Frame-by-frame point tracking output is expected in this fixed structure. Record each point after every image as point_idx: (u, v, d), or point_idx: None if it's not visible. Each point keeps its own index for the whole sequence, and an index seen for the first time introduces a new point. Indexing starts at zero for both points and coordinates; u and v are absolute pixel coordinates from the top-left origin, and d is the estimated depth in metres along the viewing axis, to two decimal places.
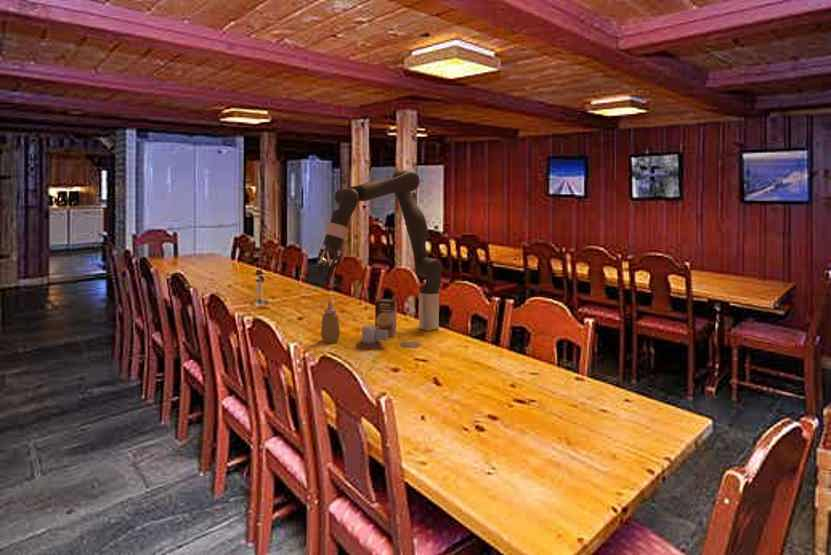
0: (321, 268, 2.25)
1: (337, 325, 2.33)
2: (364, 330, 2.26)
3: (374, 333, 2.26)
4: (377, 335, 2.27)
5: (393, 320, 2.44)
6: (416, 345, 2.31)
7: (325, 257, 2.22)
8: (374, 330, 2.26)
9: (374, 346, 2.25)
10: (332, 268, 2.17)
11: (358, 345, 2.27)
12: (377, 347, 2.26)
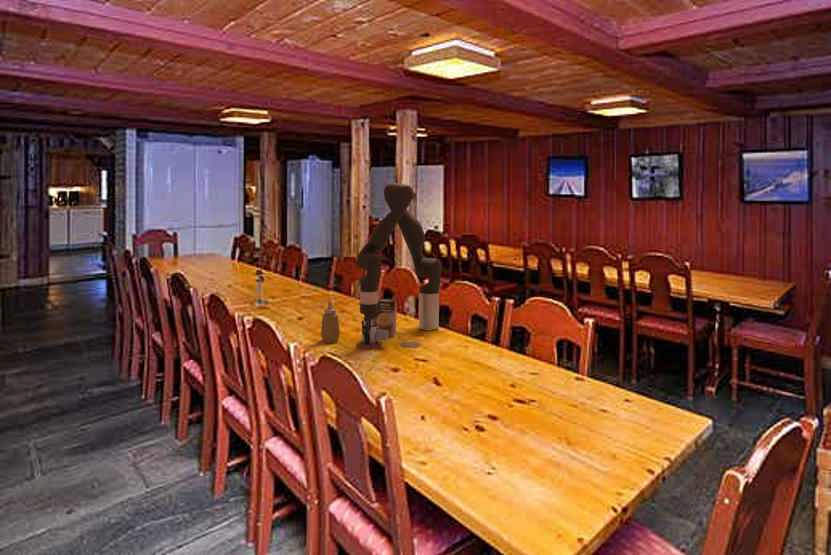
0: None
1: (337, 325, 2.33)
2: None
3: (374, 333, 2.26)
4: (377, 335, 2.27)
5: (393, 320, 2.44)
6: (416, 345, 2.31)
7: None
8: (374, 330, 2.26)
9: (374, 346, 2.25)
10: (366, 336, 2.24)
11: (358, 345, 2.27)
12: (377, 347, 2.26)
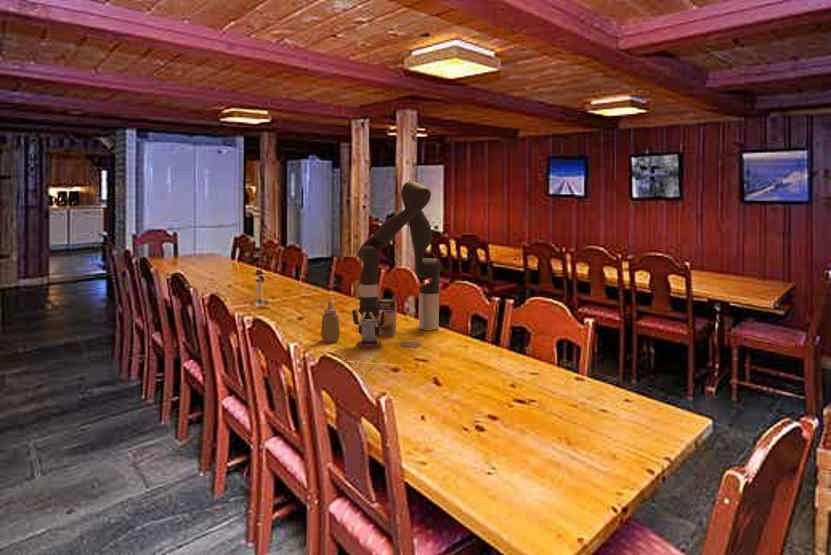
0: None
1: (337, 325, 2.33)
2: None
3: None
4: None
5: (393, 320, 2.44)
6: (416, 345, 2.31)
7: None
8: (364, 323, 2.25)
9: (374, 346, 2.25)
10: None
11: (358, 345, 2.27)
12: (377, 347, 2.26)
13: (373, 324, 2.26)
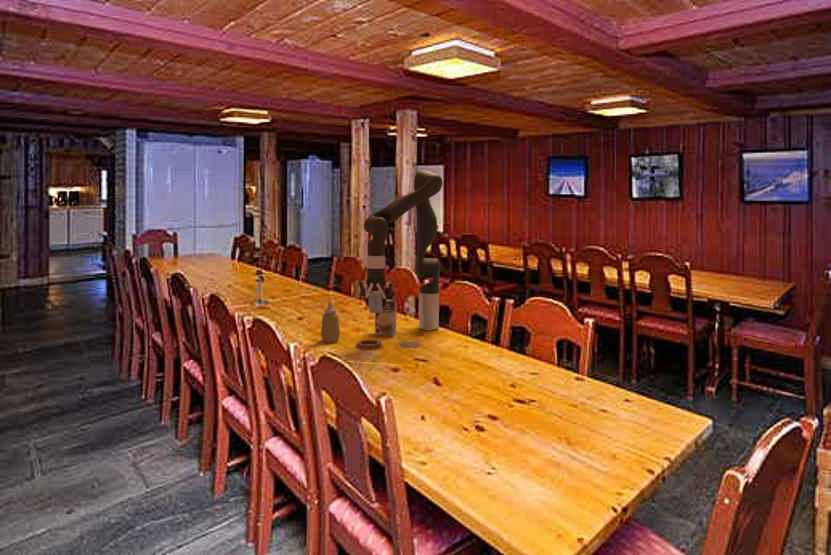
0: None
1: (337, 325, 2.33)
2: None
3: None
4: None
5: (393, 320, 2.44)
6: (416, 345, 2.31)
7: None
8: (371, 295, 2.25)
9: (374, 346, 2.25)
10: None
11: (358, 345, 2.27)
12: (377, 347, 2.26)
13: (380, 296, 2.25)
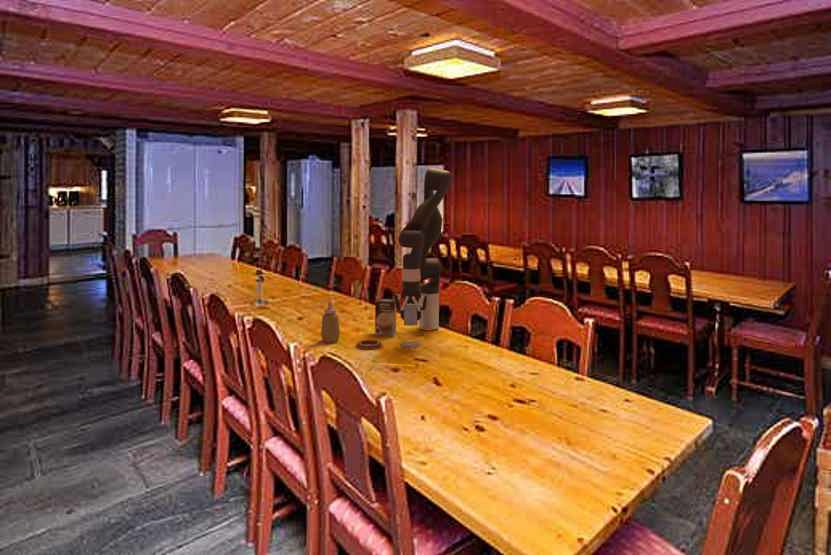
0: None
1: (337, 325, 2.33)
2: None
3: None
4: None
5: (393, 320, 2.44)
6: (416, 345, 2.31)
7: None
8: (407, 308, 2.27)
9: (374, 346, 2.25)
10: (401, 311, 2.30)
11: (358, 345, 2.27)
12: (377, 347, 2.26)
13: (415, 308, 2.27)
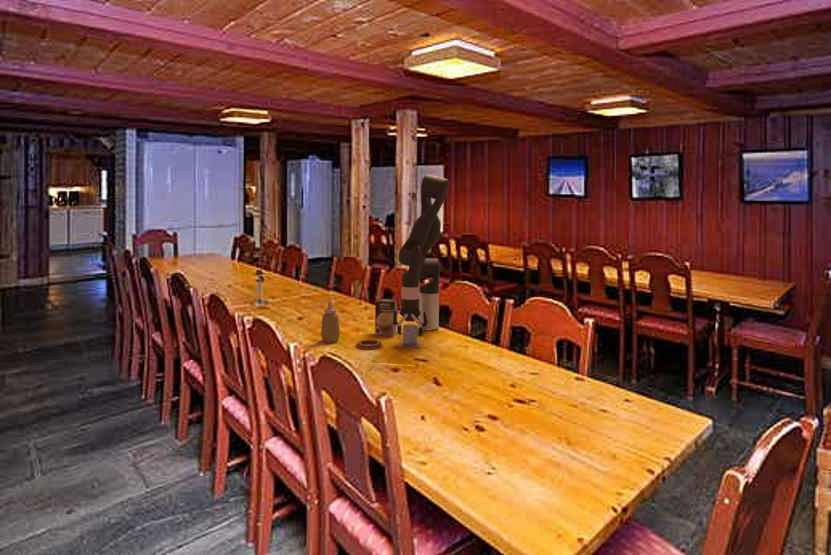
0: (419, 330, 2.30)
1: (337, 325, 2.33)
2: None
3: (406, 332, 2.28)
4: None
5: None
6: (416, 345, 2.31)
7: None
8: (406, 329, 2.28)
9: (374, 346, 2.25)
10: None
11: (358, 345, 2.27)
12: (377, 347, 2.26)
13: (415, 330, 2.28)
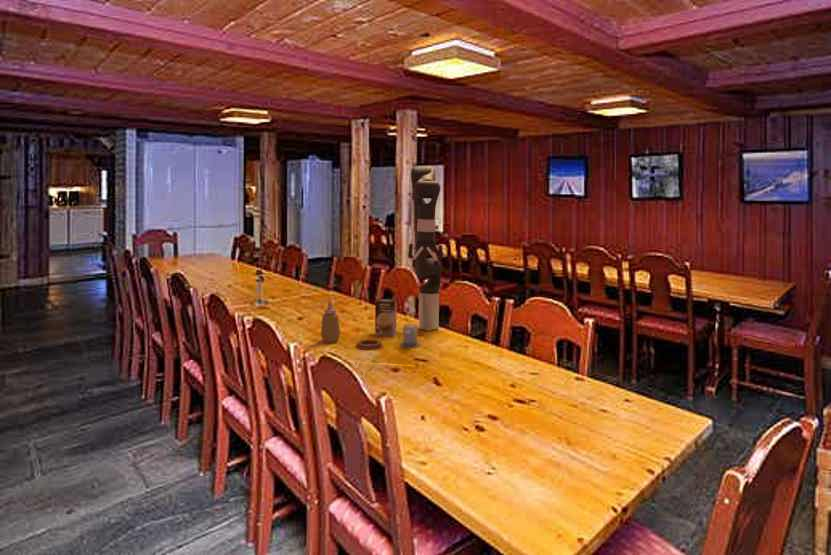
0: None
1: (337, 325, 2.33)
2: None
3: (406, 332, 2.29)
4: None
5: (393, 320, 2.44)
6: (416, 345, 2.31)
7: None
8: (406, 329, 2.28)
9: (374, 346, 2.25)
10: (413, 260, 2.31)
11: (358, 345, 2.27)
12: (377, 347, 2.26)
13: (414, 330, 2.29)
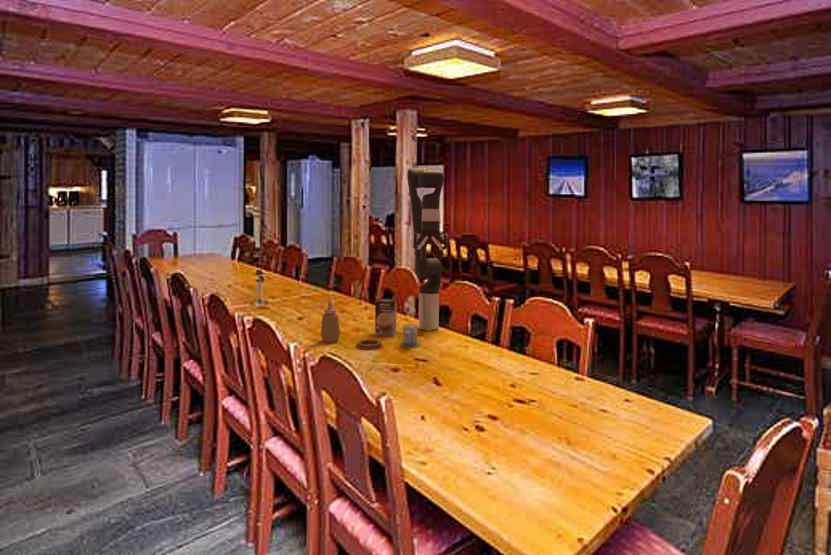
0: None
1: (337, 325, 2.33)
2: None
3: (406, 332, 2.29)
4: None
5: (393, 320, 2.44)
6: (416, 345, 2.31)
7: None
8: (406, 329, 2.28)
9: (374, 346, 2.25)
10: (418, 250, 2.32)
11: (358, 345, 2.27)
12: (377, 347, 2.26)
13: (414, 330, 2.29)
